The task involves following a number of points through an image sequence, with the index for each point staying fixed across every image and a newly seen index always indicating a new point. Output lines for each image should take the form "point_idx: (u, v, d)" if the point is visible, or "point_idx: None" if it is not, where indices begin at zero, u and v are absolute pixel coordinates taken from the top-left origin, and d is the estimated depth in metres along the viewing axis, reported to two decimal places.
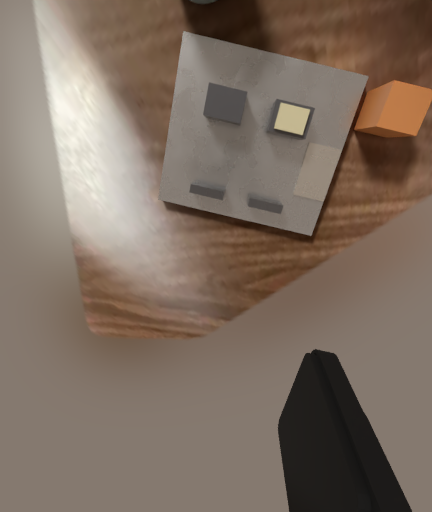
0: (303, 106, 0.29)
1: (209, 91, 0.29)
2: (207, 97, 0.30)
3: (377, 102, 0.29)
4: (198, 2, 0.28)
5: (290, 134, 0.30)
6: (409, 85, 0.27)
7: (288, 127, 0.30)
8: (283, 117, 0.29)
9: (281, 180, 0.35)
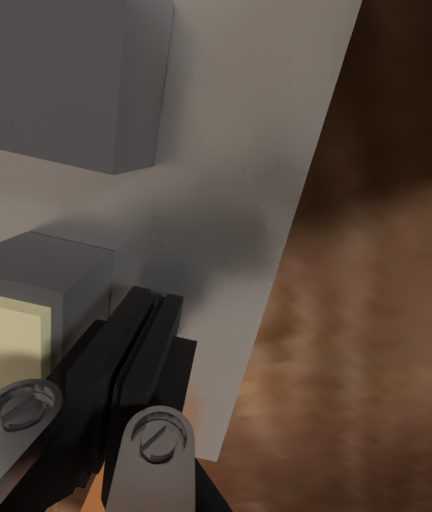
0: None
1: None
2: None
3: None
4: None
5: None
6: None
7: None
8: None
9: None
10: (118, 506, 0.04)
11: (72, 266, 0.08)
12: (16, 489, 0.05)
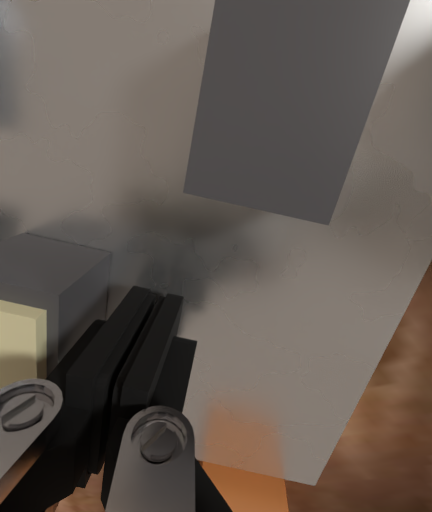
0: None
1: None
2: None
3: None
4: None
5: None
6: None
7: None
8: None
9: None
10: (118, 506, 0.04)
11: (68, 268, 0.08)
12: (16, 489, 0.05)
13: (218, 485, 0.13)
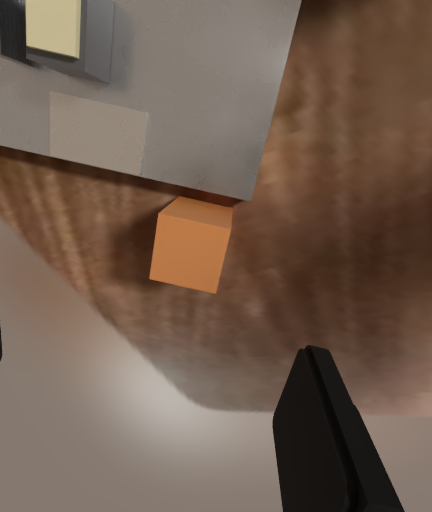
0: (83, 43, 0.14)
1: None
2: None
3: (206, 214, 0.18)
4: None
5: None
6: (222, 254, 0.16)
7: (33, 6, 0.14)
8: None
9: None
10: None
11: None
12: None
13: (186, 202, 0.19)
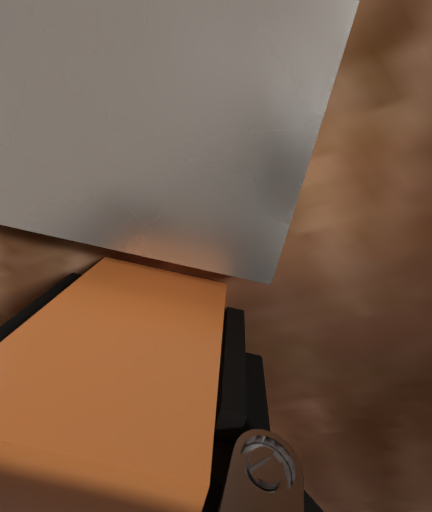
0: None
1: None
2: None
3: (138, 352, 0.06)
4: None
5: None
6: None
7: None
8: None
9: None
10: None
11: None
12: None
13: (105, 288, 0.08)
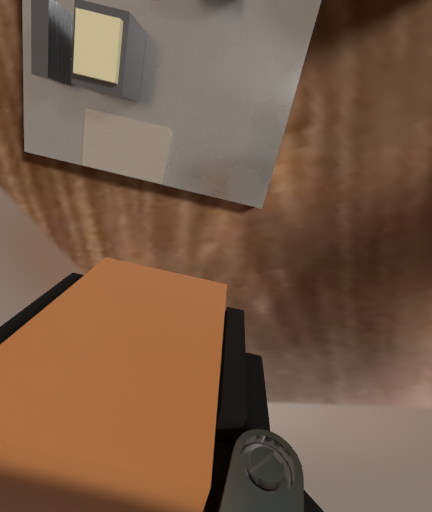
0: (122, 71, 0.16)
1: None
2: None
3: (140, 354, 0.06)
4: None
5: (74, 50, 0.16)
6: None
7: (81, 40, 0.16)
8: (97, 27, 0.15)
9: None
10: None
11: None
12: None
13: (106, 289, 0.08)
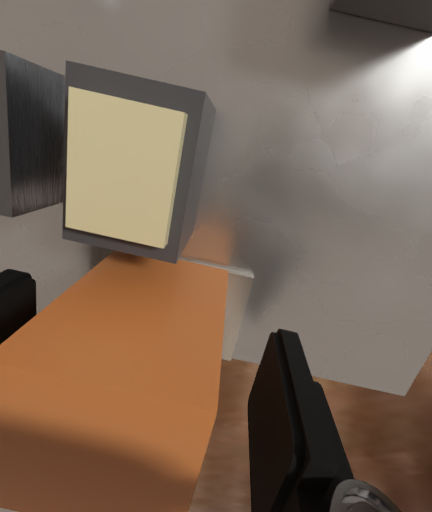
0: (179, 219, 0.07)
1: None
2: None
3: (155, 321, 0.07)
4: None
5: None
6: (193, 469, 0.05)
7: (83, 161, 0.06)
8: (123, 132, 0.06)
9: None
10: None
11: None
12: None
13: (122, 271, 0.09)
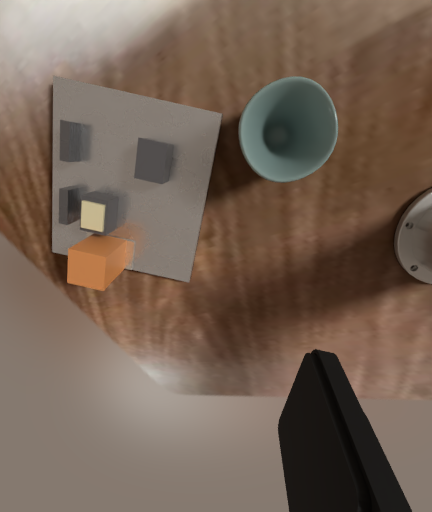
0: (105, 225, 0.32)
1: (159, 144, 0.29)
2: (154, 142, 0.29)
3: (99, 247, 0.32)
4: None
5: (81, 216, 0.32)
6: (103, 269, 0.31)
7: (84, 214, 0.32)
8: (92, 208, 0.31)
9: None
10: None
11: (108, 198, 0.33)
12: None
13: (94, 238, 0.34)
